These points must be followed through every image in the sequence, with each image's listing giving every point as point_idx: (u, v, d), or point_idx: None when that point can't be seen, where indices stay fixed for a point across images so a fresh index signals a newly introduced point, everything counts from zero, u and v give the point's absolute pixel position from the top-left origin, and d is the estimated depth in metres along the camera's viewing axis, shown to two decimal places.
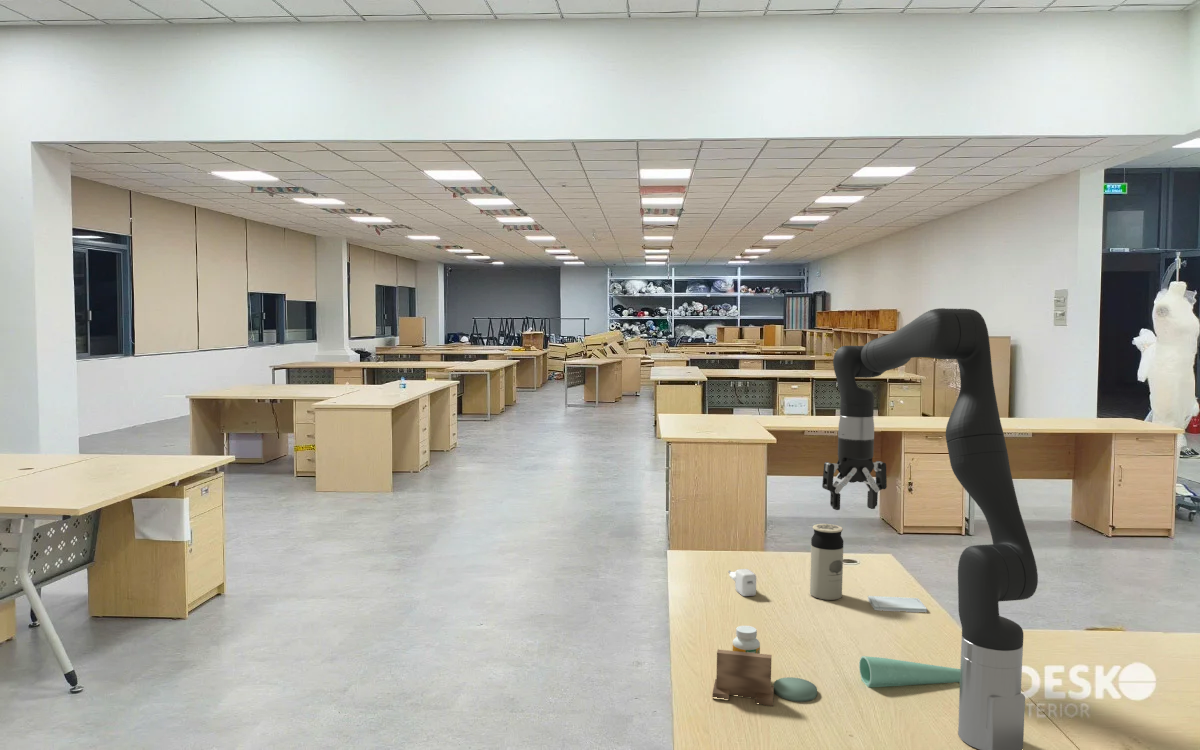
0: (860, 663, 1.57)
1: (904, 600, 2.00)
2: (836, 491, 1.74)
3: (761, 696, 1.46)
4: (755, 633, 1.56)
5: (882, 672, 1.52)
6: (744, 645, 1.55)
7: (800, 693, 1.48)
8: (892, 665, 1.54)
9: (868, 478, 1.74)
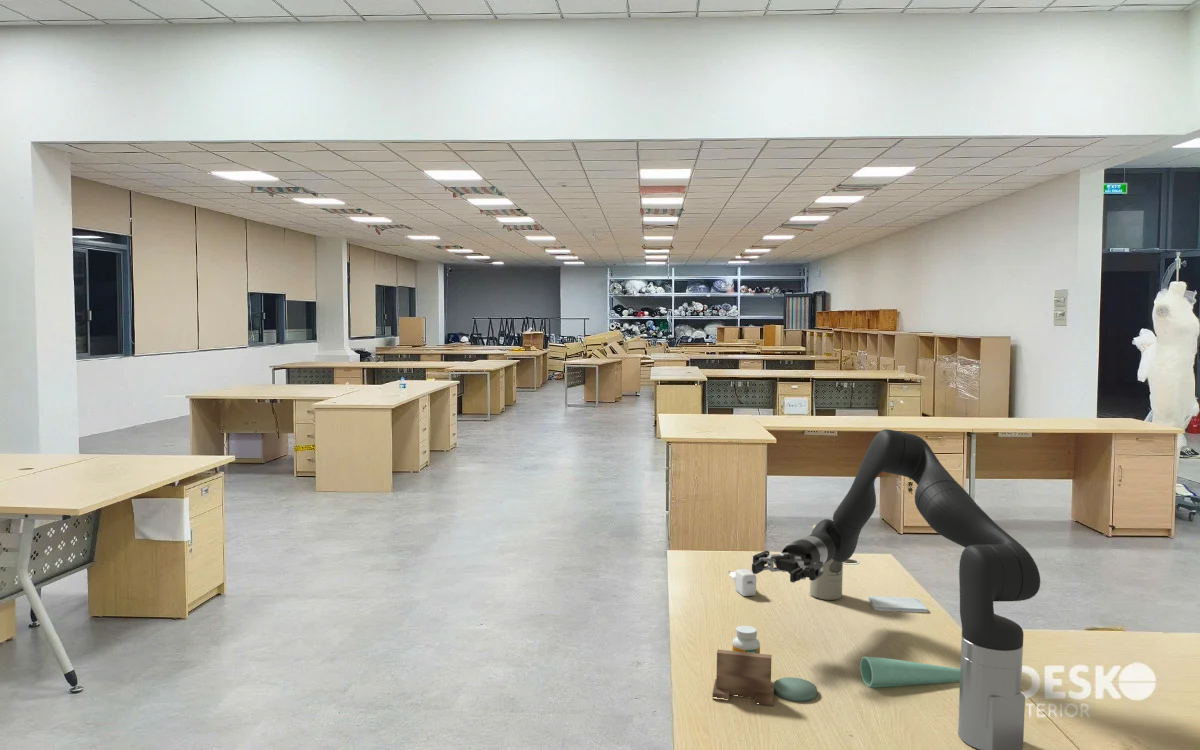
0: (861, 664, 1.57)
1: (904, 600, 2.00)
2: (760, 558, 1.72)
3: (761, 696, 1.46)
4: (755, 633, 1.56)
5: (883, 672, 1.52)
6: (744, 645, 1.55)
7: (800, 693, 1.48)
8: (893, 665, 1.54)
9: (797, 559, 1.69)
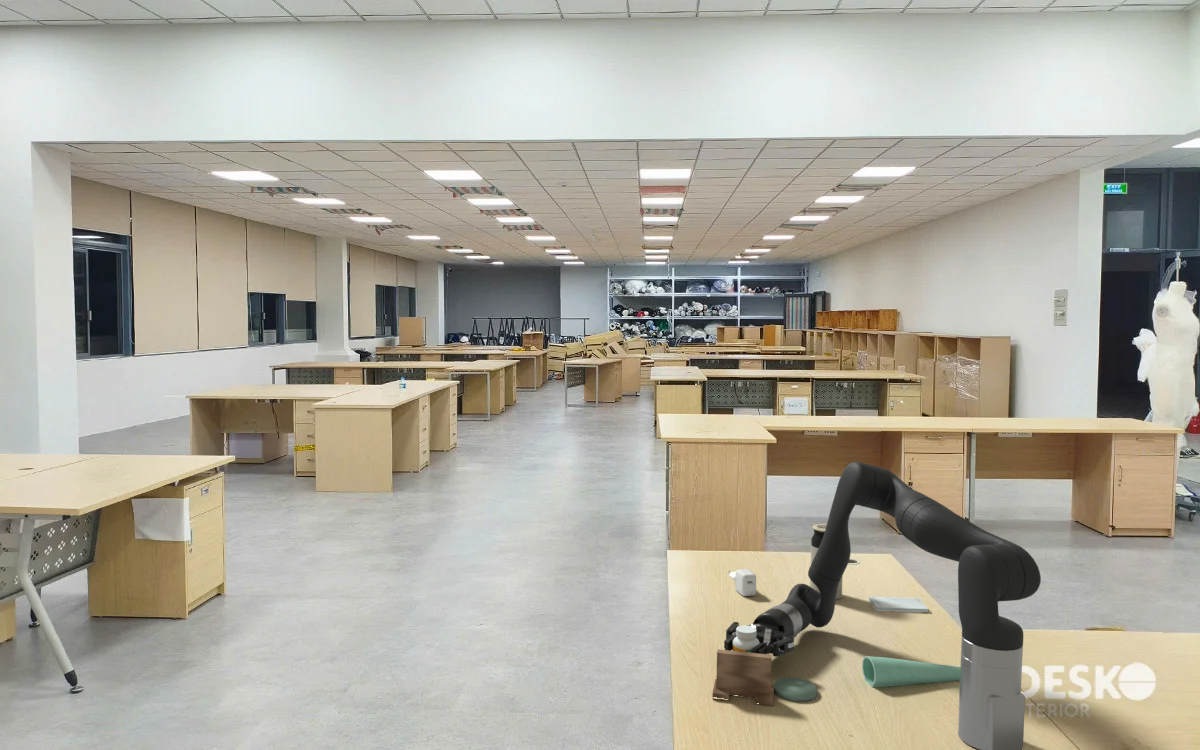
0: (863, 663, 1.57)
1: (905, 601, 1.99)
2: (734, 633, 1.61)
3: (761, 696, 1.46)
4: (755, 633, 1.56)
5: (886, 672, 1.53)
6: (744, 645, 1.55)
7: (800, 693, 1.48)
8: (895, 664, 1.54)
9: (766, 633, 1.60)
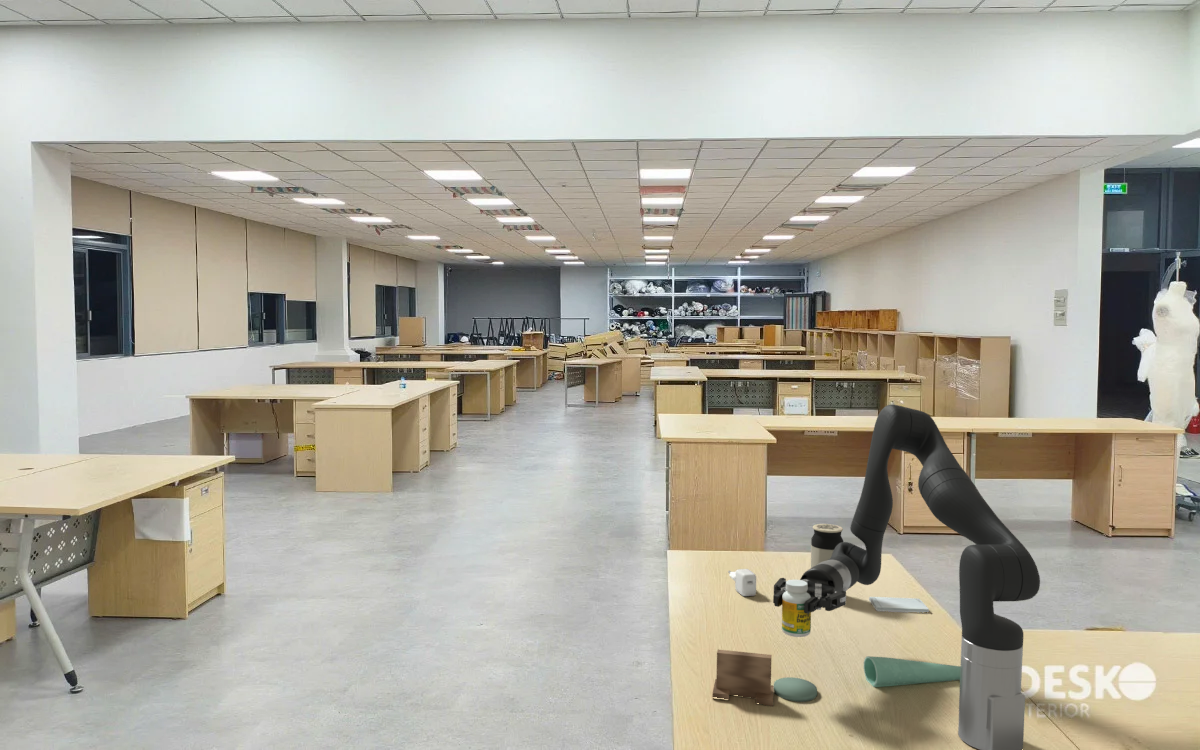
0: (864, 663, 1.57)
1: (905, 601, 1.99)
2: (782, 588, 1.53)
3: (761, 696, 1.46)
4: (806, 586, 1.48)
5: (888, 672, 1.53)
6: (795, 599, 1.47)
7: (800, 693, 1.48)
8: (897, 664, 1.54)
9: (816, 587, 1.52)
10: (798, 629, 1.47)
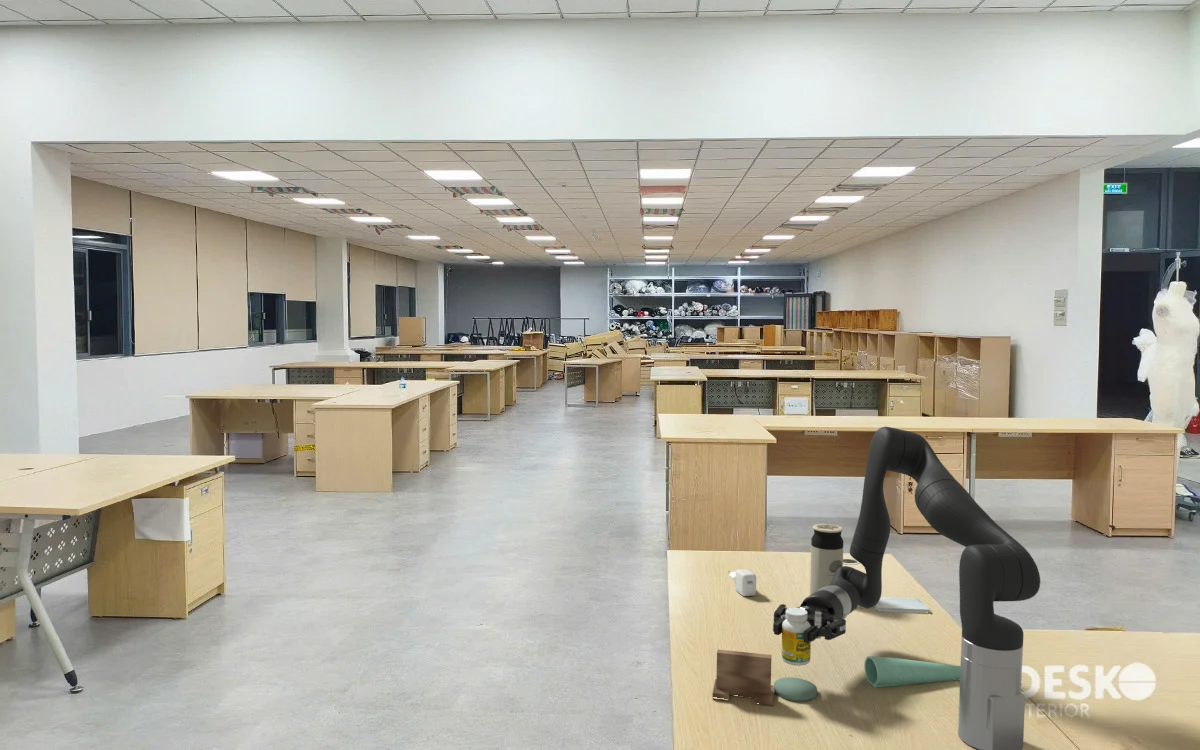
0: (865, 663, 1.57)
1: (906, 601, 1.99)
2: (782, 616, 1.54)
3: (761, 696, 1.46)
4: (806, 615, 1.49)
5: (889, 672, 1.53)
6: (795, 628, 1.48)
7: (800, 693, 1.48)
8: (897, 664, 1.54)
9: (816, 615, 1.53)
10: (798, 657, 1.48)
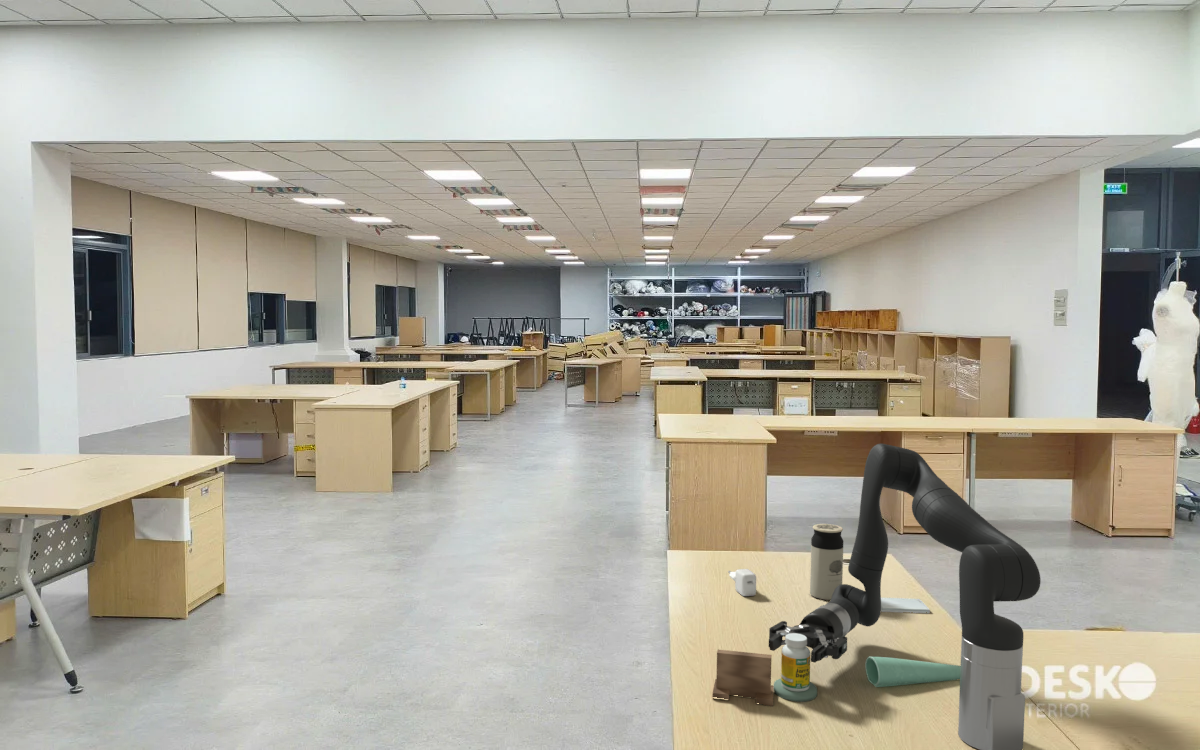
0: (866, 664, 1.57)
1: (906, 601, 1.99)
2: (778, 631, 1.55)
3: (761, 696, 1.46)
4: (806, 641, 1.49)
5: (890, 672, 1.53)
6: (795, 654, 1.48)
7: (800, 693, 1.48)
8: (898, 664, 1.54)
9: (819, 634, 1.53)
10: (797, 683, 1.48)
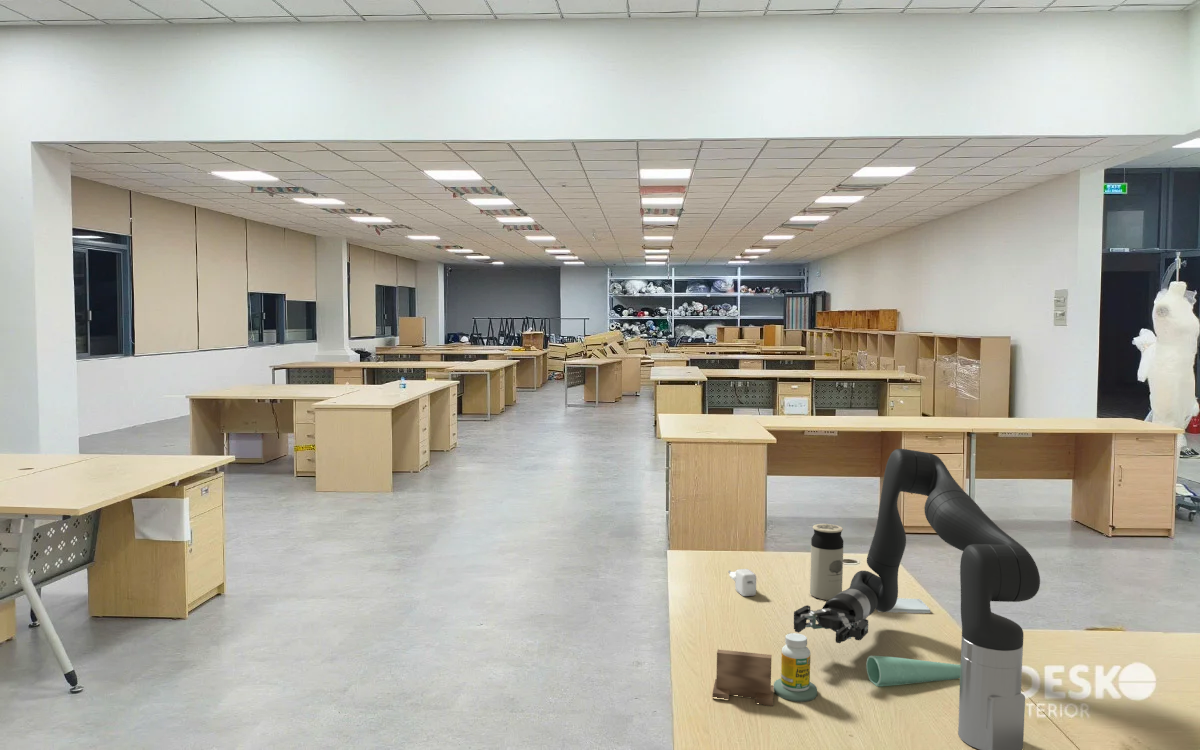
0: (867, 663, 1.57)
1: (906, 601, 1.99)
2: (802, 614, 1.64)
3: (761, 696, 1.46)
4: (806, 641, 1.49)
5: (891, 671, 1.53)
6: (795, 654, 1.48)
7: (800, 693, 1.48)
8: (899, 663, 1.54)
9: (841, 617, 1.62)
10: (797, 683, 1.48)
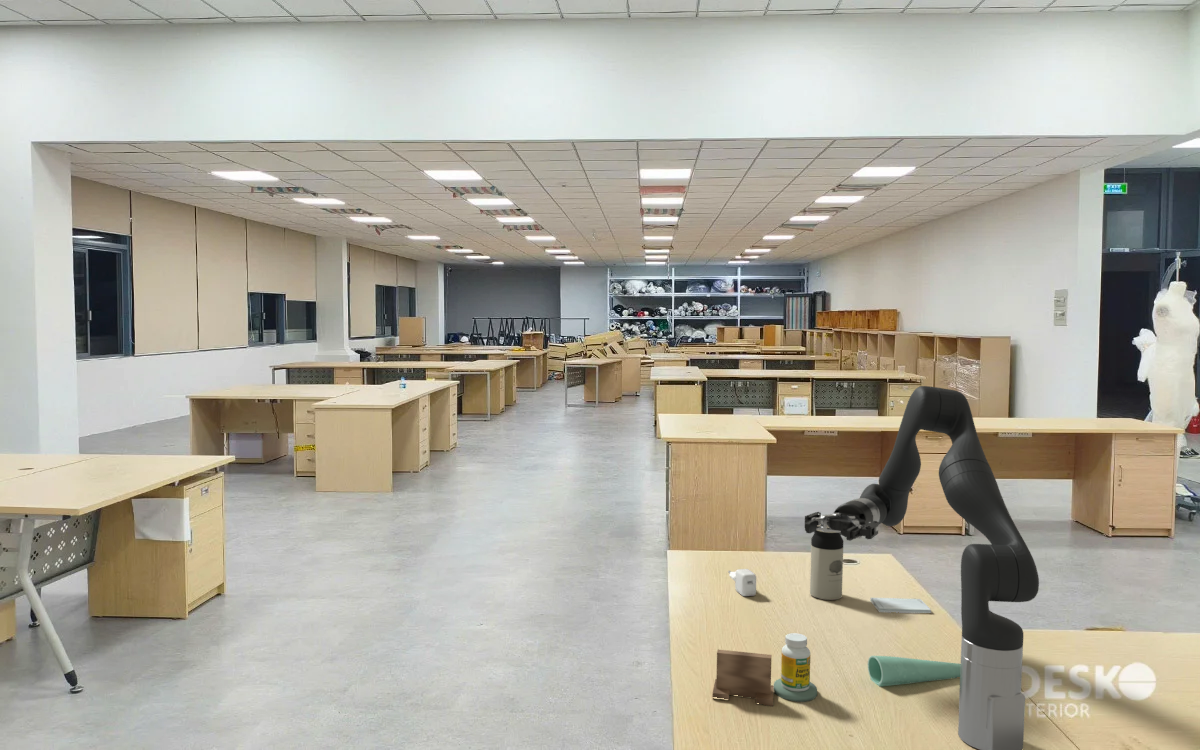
0: (868, 663, 1.57)
1: (907, 601, 1.99)
2: (813, 518, 1.67)
3: (761, 696, 1.46)
4: (806, 641, 1.49)
5: (893, 671, 1.53)
6: (795, 654, 1.48)
7: (800, 693, 1.48)
8: (901, 663, 1.54)
9: (852, 519, 1.64)
10: (797, 683, 1.48)
